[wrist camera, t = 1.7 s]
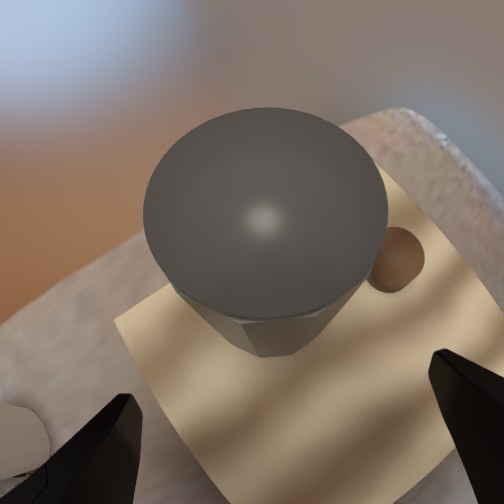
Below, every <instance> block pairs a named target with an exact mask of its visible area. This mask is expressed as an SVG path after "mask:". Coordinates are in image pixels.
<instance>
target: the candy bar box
mask: <svg viewBox="0 0 504 504" xmlns="http://www.w3.org/2000/svg"><path fill="white" fill-rule="evenodd" d="M29 476H30V474H28V473H23V474H19V475H16V476H13V477H10V478H7V479H4V480H1V481H0V498H1V497H2V496H4V495H5V494H6V493H8V492H9V491H11V490H12V489H13V488H15V487H16V486H17V485H19V484H20V483H21V482H23V481H24V480H25V479H26V478H28V477H29Z"/></svg>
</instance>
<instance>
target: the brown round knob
mask: <svg viewBox="0 0 504 504" xmlns="http://www.w3.org/2000/svg"><path fill="white" fill-rule="evenodd" d="M424 262H425V254H424V250H423V247H422V245H421V243H420V241H419V240H418V239H417V237H416V236H415V235H414V234H412V233H411V232H410V231H408V230H406V229H404V228H401V227H388V228H387V229H386V234H385V238H384V241H383V243H382V246H381V248H380V251H379V253H378V254H377V256H376V259H375V262H374V265H373V268H372V271H371V274H370V275H369V276H368V277H367V279H366V280H367V281H368V283H369V284H370V285H371V286H372V287H373V288H375V289H376V290H378V291H381V292H384V293H395V292H398V291H400V290H401V289H403V288H404V287H405V286H406V285H408V284H409V283H410V282H411V281H412V280H413V279H415V278H416V277H417V276H418V275H419V274H420V273H421V271H422V269H423V267H424Z"/></svg>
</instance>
